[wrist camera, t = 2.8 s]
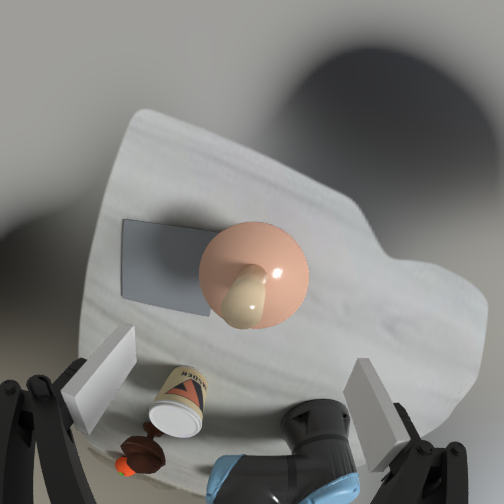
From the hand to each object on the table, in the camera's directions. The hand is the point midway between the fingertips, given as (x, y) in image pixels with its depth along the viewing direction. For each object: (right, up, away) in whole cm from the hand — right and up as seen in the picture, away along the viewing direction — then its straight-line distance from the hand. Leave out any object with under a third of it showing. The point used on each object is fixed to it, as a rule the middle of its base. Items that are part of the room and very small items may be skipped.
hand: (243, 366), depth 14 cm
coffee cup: (-12, -19, +34) cm, 41 cm away
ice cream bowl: (-24, -38, +39) cm, 59 cm away
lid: (+1, +4, +16) cm, 16 cm away
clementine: (-39, -59, +45) cm, 84 cm away
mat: (-13, +4, +29) cm, 32 cm away
